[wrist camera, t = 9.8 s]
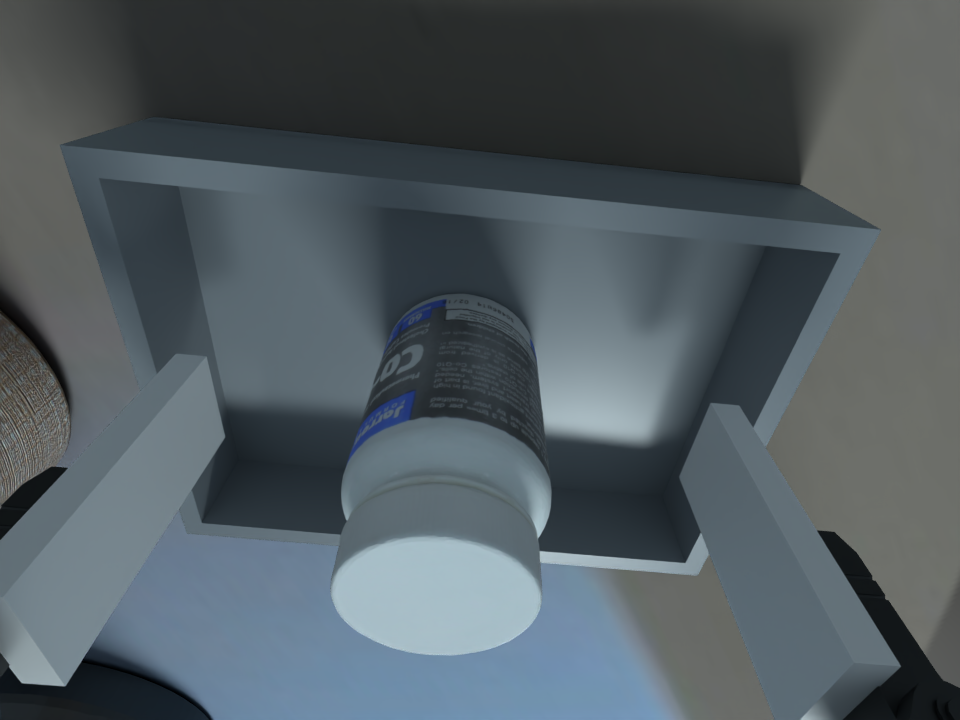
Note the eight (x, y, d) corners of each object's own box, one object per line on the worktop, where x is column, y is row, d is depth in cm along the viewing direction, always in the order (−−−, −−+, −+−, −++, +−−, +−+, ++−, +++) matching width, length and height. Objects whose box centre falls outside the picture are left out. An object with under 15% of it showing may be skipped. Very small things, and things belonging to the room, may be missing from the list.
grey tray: (231, 458, 20) (187, 533, 17) (153, 116, 14) (59, 144, 11) (669, 496, 21) (697, 575, 18) (801, 185, 14) (881, 229, 11)
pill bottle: (408, 268, 15) (332, 488, 8) (559, 316, 16) (610, 557, 9) (372, 392, 18) (291, 643, 11) (504, 429, 18) (510, 686, 11)
